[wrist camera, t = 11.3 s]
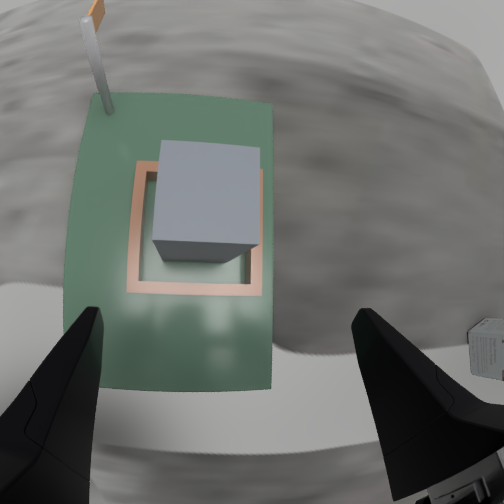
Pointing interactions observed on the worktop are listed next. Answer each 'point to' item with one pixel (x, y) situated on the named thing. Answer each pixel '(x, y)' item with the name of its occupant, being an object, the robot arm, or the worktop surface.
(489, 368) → the skincare box
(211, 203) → the grey block
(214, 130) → the green base plate
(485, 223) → the worktop surface
